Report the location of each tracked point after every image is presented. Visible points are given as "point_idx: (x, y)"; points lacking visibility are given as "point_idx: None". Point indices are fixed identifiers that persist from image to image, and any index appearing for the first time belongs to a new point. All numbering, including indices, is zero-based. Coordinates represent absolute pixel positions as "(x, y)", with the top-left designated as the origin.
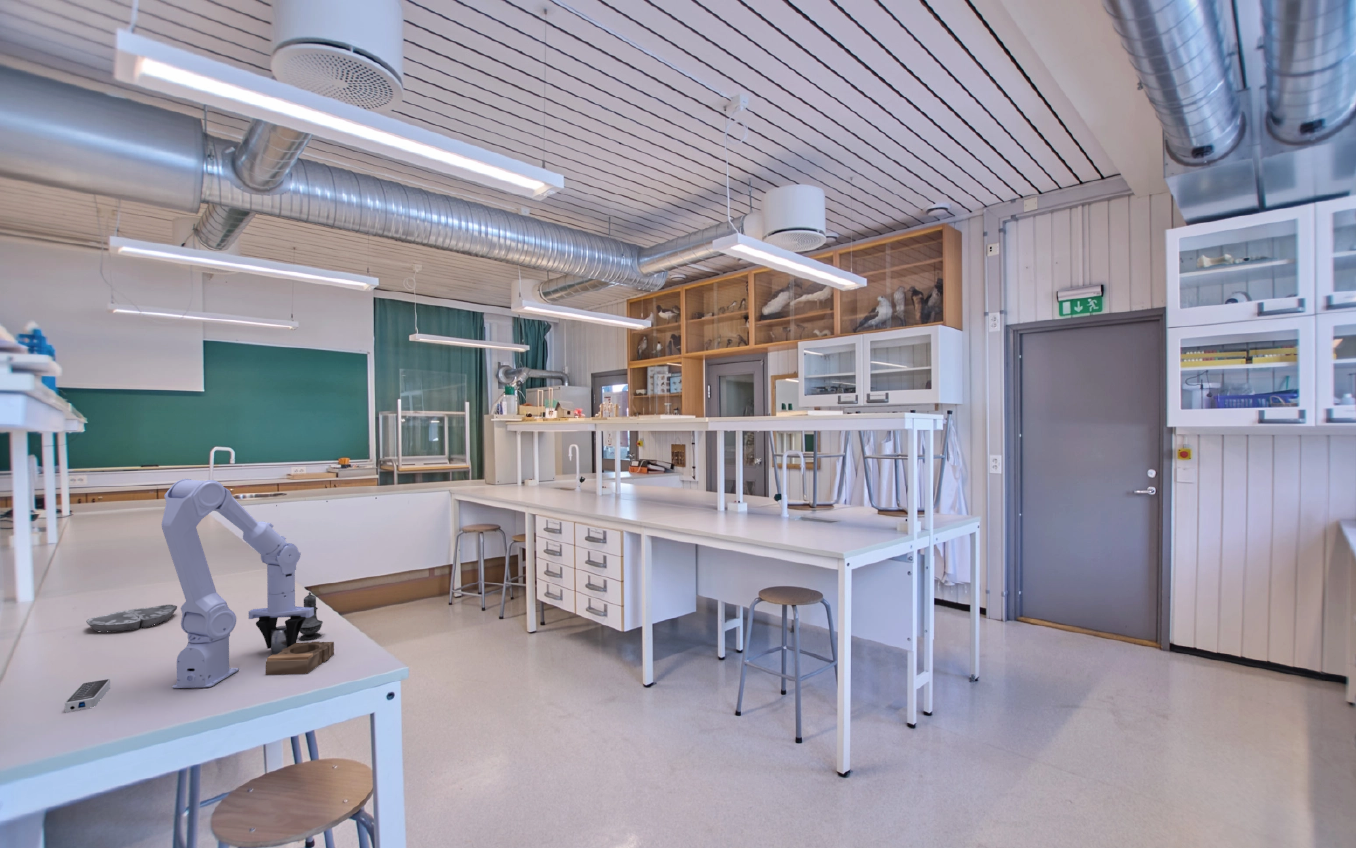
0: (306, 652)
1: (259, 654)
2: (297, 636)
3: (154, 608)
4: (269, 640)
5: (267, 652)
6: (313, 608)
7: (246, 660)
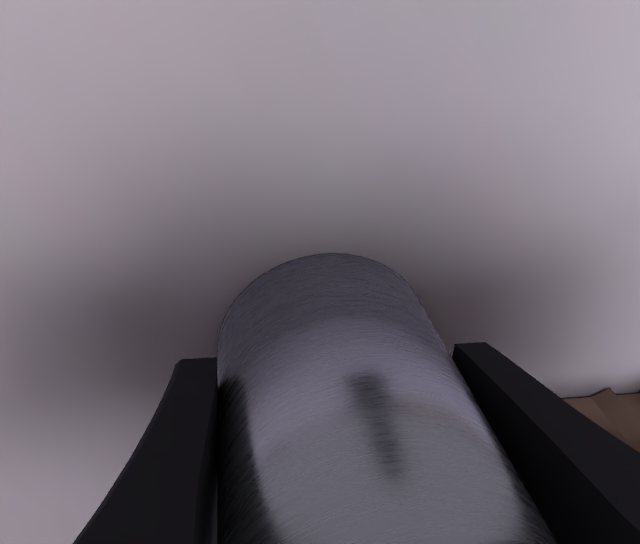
0: None
1: (84, 385)
2: (563, 411)
3: None
4: (214, 536)
5: (136, 331)
6: None
7: (79, 512)
